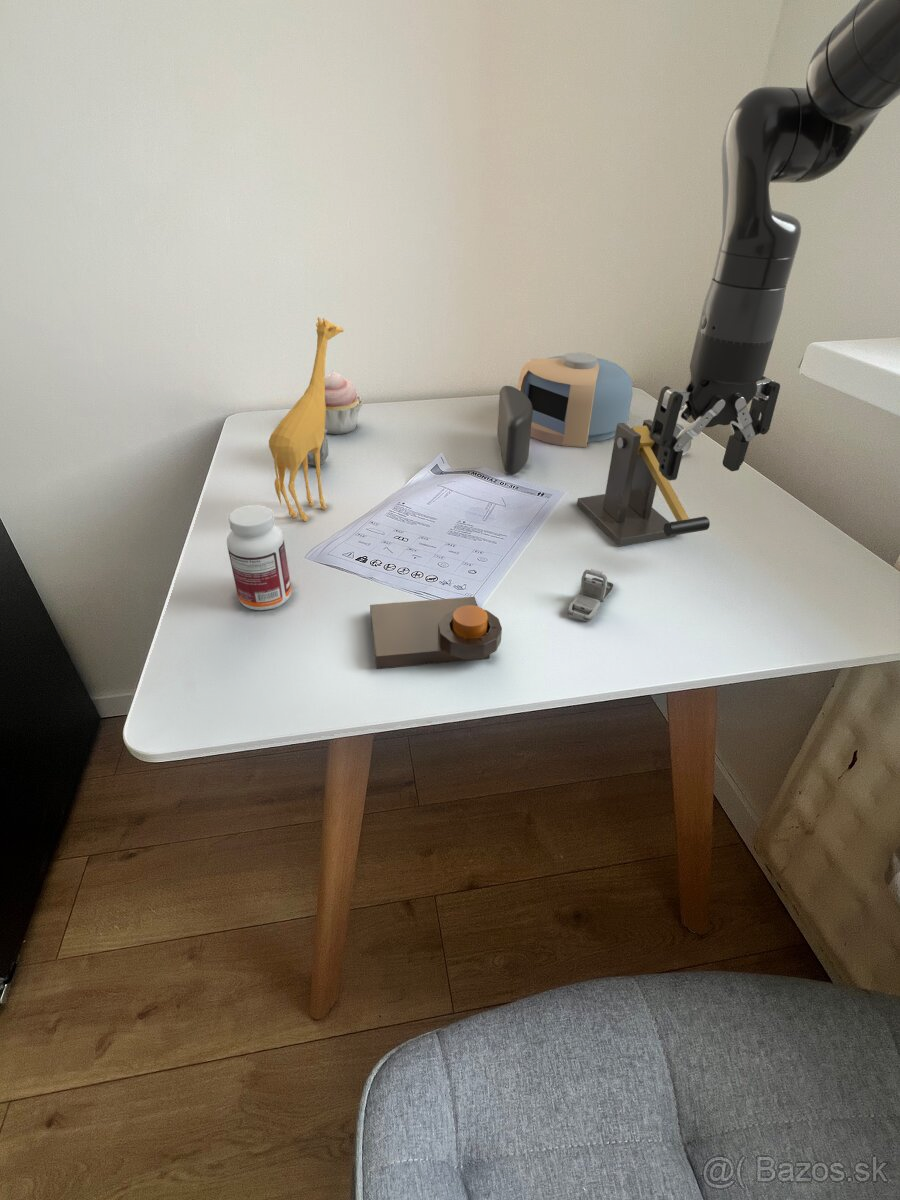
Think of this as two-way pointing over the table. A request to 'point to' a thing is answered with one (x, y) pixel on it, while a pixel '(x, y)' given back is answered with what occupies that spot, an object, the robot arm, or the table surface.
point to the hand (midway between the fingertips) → (699, 472)
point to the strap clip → (590, 596)
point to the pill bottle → (258, 558)
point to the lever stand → (627, 493)
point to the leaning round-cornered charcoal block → (514, 428)
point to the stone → (322, 452)
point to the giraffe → (304, 427)
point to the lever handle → (668, 491)
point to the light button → (470, 621)
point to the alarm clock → (576, 398)
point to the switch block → (427, 633)
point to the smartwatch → (687, 446)
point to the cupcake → (340, 404)
